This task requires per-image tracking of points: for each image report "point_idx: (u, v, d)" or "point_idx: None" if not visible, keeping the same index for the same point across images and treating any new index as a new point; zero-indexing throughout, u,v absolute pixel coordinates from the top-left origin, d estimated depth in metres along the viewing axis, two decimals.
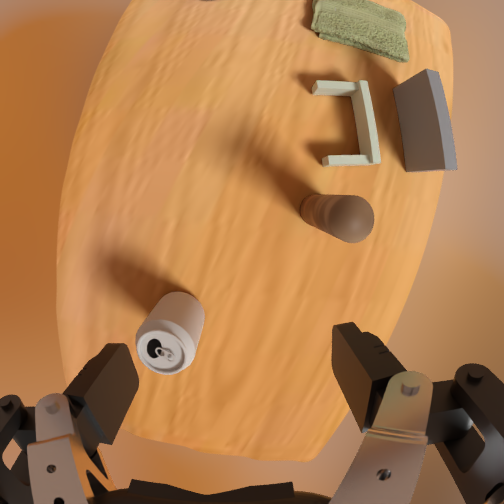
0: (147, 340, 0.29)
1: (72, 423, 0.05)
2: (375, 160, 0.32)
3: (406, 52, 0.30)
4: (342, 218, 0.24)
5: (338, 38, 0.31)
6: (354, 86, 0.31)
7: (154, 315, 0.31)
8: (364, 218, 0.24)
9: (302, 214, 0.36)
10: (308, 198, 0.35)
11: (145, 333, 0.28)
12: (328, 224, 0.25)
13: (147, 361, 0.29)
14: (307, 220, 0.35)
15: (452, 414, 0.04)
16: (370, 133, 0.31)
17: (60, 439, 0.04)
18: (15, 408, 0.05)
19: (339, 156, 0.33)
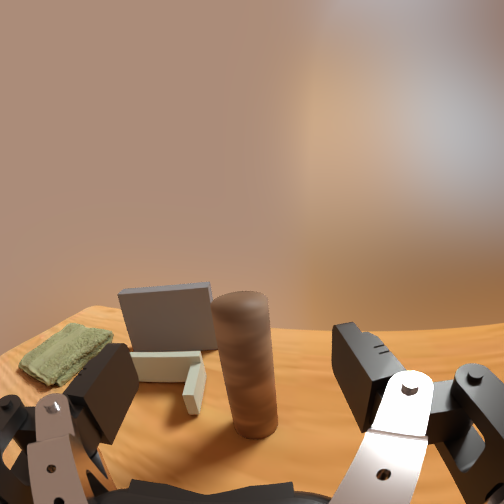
0: None
1: (72, 423, 0.05)
2: (196, 354, 0.31)
3: (104, 330, 0.43)
4: (236, 307, 0.20)
5: (69, 370, 0.31)
6: None
7: None
8: (238, 296, 0.22)
9: (259, 430, 0.21)
10: (236, 422, 0.22)
11: None
12: (245, 326, 0.19)
13: None
14: (264, 416, 0.21)
15: (452, 414, 0.04)
16: (167, 356, 0.31)
17: (60, 439, 0.04)
18: (15, 408, 0.05)
19: (186, 385, 0.26)
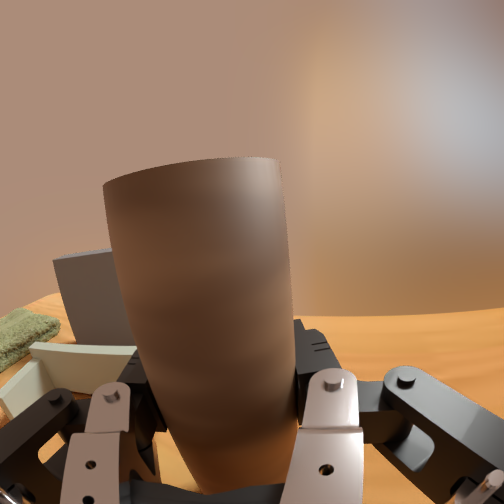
0: None
1: (129, 417, 0.05)
2: None
3: (49, 316, 0.28)
4: None
5: None
6: (34, 361, 0.16)
7: None
8: None
9: None
10: None
11: None
12: (196, 223, 0.05)
13: None
14: None
15: (380, 415, 0.05)
16: (98, 352, 0.16)
17: (109, 435, 0.04)
18: (67, 402, 0.05)
19: None
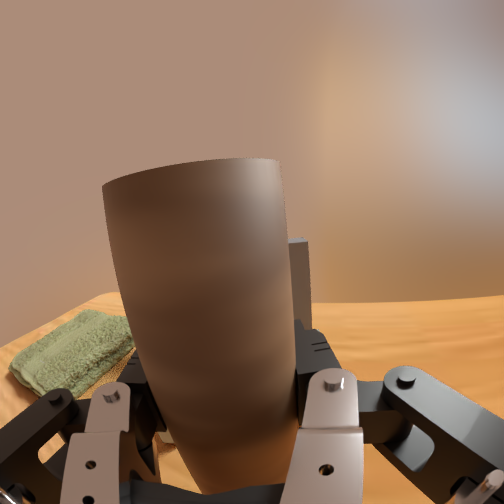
0: None
1: (129, 417, 0.05)
2: None
3: None
4: None
5: (82, 380, 0.20)
6: None
7: None
8: None
9: None
10: None
11: None
12: (196, 224, 0.05)
13: None
14: None
15: (380, 415, 0.05)
16: None
17: (109, 435, 0.04)
18: (67, 402, 0.05)
19: None
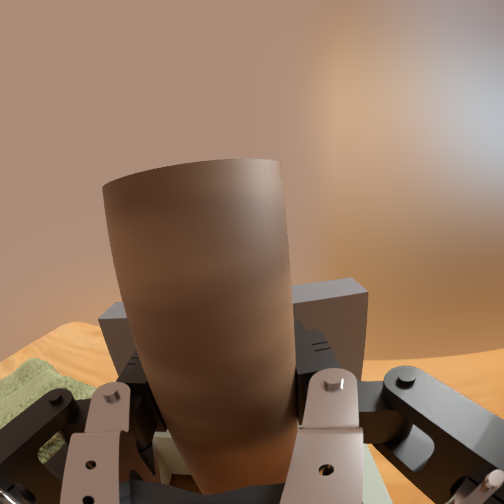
0: None
1: (129, 417, 0.05)
2: None
3: (84, 386, 0.18)
4: None
5: None
6: None
7: None
8: None
9: None
10: None
11: None
12: (196, 225, 0.05)
13: None
14: None
15: (380, 416, 0.05)
16: None
17: (109, 435, 0.04)
18: (67, 402, 0.05)
19: (365, 498, 0.07)
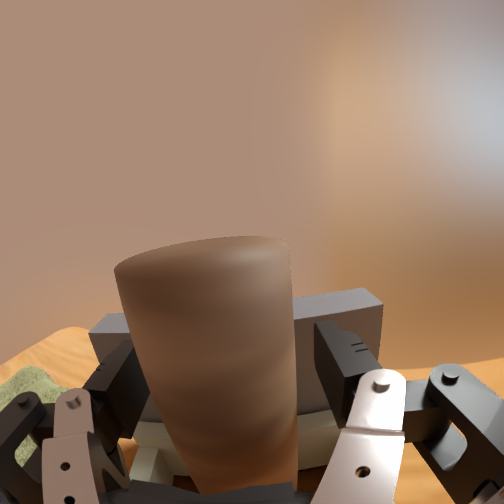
0: None
1: (92, 420, 0.05)
2: None
3: None
4: (183, 263, 0.06)
5: None
6: (147, 454, 0.11)
7: None
8: (204, 244, 0.08)
9: None
10: None
11: None
12: (212, 330, 0.05)
13: None
14: None
15: (426, 413, 0.05)
16: None
17: (78, 436, 0.04)
18: (33, 405, 0.05)
19: None
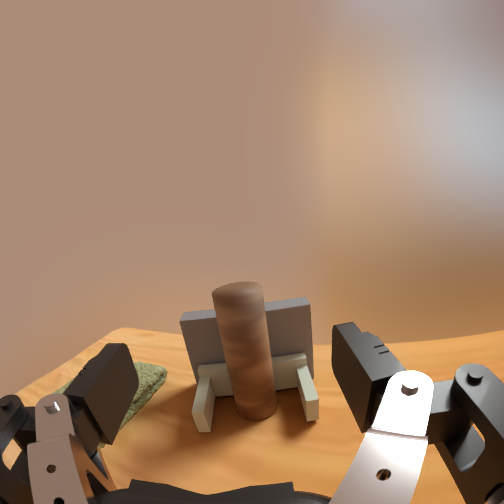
0: None
1: (72, 423, 0.05)
2: (302, 356, 0.28)
3: (154, 366, 0.33)
4: (234, 294, 0.23)
5: None
6: (204, 380, 0.28)
7: None
8: (236, 286, 0.25)
9: (259, 411, 0.24)
10: (238, 404, 0.25)
11: None
12: (242, 310, 0.22)
13: None
14: (264, 397, 0.24)
15: (452, 414, 0.04)
16: None
17: (60, 439, 0.04)
18: (15, 408, 0.05)
19: (305, 391, 0.24)
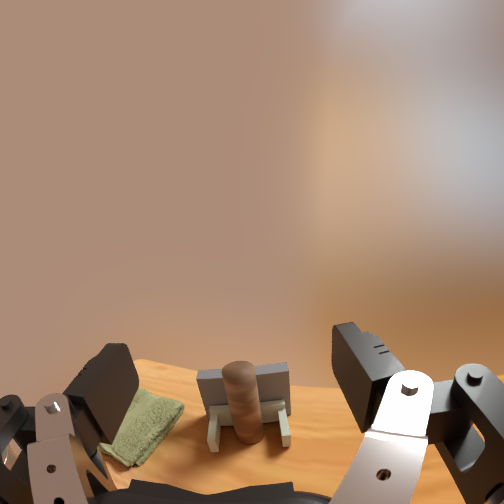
0: None
1: (72, 423, 0.05)
2: (282, 402, 0.38)
3: (174, 401, 0.43)
4: (236, 375, 0.33)
5: (146, 451, 0.32)
6: (214, 416, 0.38)
7: None
8: (237, 365, 0.35)
9: (251, 439, 0.34)
10: (237, 434, 0.35)
11: None
12: (242, 386, 0.32)
13: None
14: (254, 431, 0.34)
15: (452, 414, 0.04)
16: None
17: (60, 439, 0.04)
18: (15, 408, 0.05)
19: (282, 428, 0.34)
